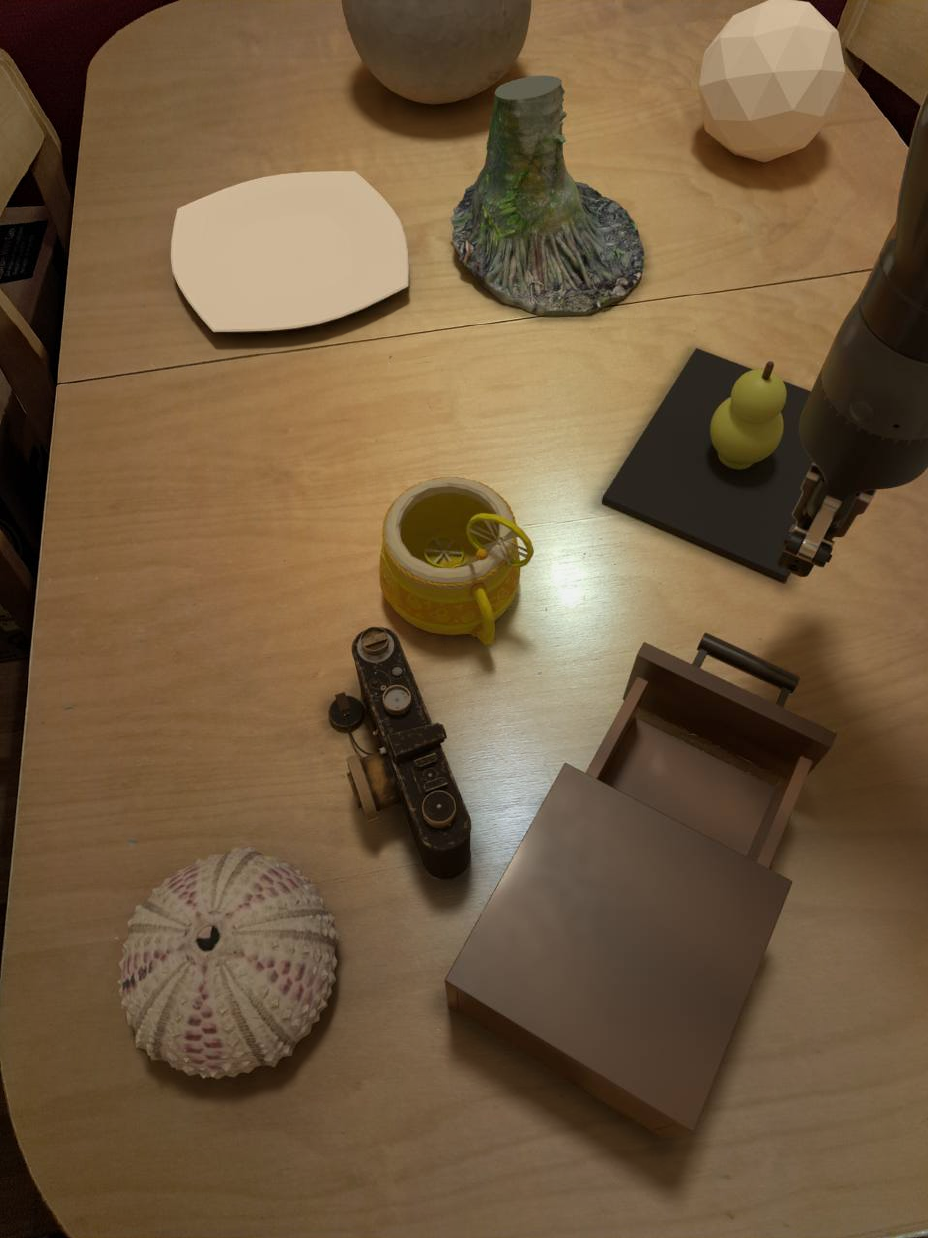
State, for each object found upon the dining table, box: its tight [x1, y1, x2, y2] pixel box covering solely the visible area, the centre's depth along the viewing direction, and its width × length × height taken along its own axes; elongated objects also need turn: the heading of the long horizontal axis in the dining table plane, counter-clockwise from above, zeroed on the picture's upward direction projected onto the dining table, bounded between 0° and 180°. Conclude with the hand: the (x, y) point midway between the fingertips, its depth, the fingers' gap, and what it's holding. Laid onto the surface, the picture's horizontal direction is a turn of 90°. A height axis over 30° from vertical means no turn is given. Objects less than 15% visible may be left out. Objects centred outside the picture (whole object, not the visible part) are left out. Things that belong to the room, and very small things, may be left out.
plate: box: [170, 170, 410, 334], centre depth 93 cm, size 23×23×2 cm
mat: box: [601, 347, 814, 582], centre depth 80 cm, size 16×20×1 cm
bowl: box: [341, 0, 532, 105], centre depth 103 cm, size 20×20×15 cm
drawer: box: [585, 632, 838, 869], centre depth 62 cm, size 18×13×7 cm
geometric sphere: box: [698, 0, 846, 163], centre depth 98 cm, size 14×15×15 cm
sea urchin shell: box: [116, 846, 341, 1080], centre depth 56 cm, size 13×14×8 cm
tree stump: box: [450, 75, 645, 317], centre depth 90 cm, size 18×20×18 cm
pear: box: [710, 360, 787, 469], centre depth 75 cm, size 6×6×11 cm
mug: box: [378, 476, 535, 646], centre depth 69 cm, size 13×11×12 cm
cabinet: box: [444, 762, 793, 1139], centre depth 56 cm, size 15×15×9 cm
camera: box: [327, 626, 472, 881], centre depth 63 cm, size 16×7×8 cm, turn 21°
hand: (794, 564), depth 64 cm, fingers closed
